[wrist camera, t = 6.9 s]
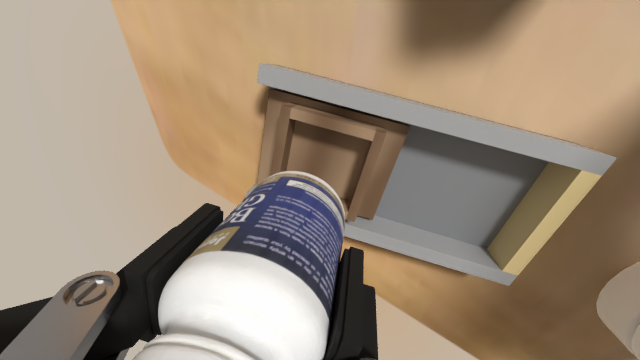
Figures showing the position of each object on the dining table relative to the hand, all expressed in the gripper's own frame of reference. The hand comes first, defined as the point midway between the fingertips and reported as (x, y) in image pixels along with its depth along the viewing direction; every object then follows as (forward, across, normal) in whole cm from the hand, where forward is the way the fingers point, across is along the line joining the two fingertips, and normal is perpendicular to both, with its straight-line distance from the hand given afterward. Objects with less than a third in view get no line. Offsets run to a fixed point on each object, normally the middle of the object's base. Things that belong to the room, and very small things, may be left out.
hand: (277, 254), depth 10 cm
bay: (+15, -7, 0) cm, 16 cm away
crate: (+14, 0, 0) cm, 14 cm away
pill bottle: (+4, 0, 0) cm, 4 cm away
